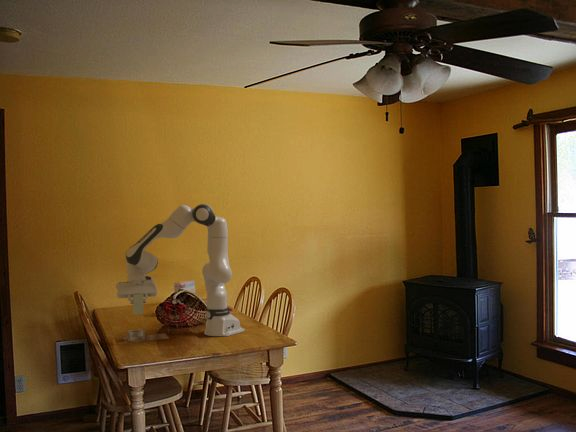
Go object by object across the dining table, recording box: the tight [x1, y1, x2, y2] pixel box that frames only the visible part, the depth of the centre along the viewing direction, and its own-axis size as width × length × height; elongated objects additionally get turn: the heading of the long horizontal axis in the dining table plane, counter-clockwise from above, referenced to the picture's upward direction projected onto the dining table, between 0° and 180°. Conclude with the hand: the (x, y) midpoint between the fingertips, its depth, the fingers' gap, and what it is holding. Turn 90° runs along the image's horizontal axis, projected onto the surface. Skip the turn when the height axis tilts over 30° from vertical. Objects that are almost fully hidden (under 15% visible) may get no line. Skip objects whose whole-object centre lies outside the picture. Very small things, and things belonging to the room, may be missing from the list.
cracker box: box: [173, 279, 196, 295], centre depth 349 cm, size 14×6×21 cm, turn 149°
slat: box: [132, 294, 144, 315], centre depth 280 cm, size 5×2×10 cm, turn 112°
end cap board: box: [122, 328, 170, 344], centre depth 282 cm, size 22×12×6 cm, turn 112°
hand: (138, 302), depth 280 cm, fingers closed on slat, 5 cm apart
